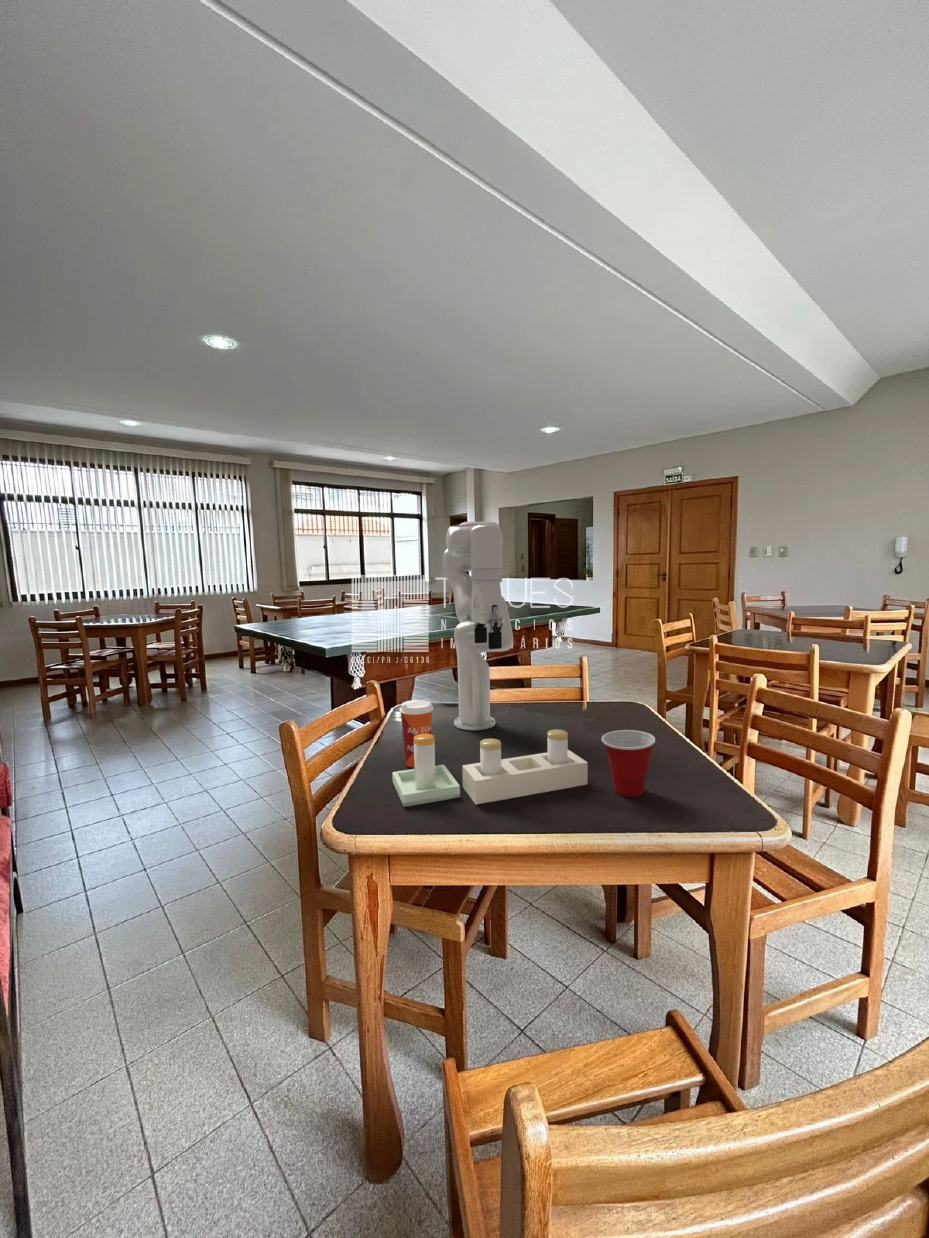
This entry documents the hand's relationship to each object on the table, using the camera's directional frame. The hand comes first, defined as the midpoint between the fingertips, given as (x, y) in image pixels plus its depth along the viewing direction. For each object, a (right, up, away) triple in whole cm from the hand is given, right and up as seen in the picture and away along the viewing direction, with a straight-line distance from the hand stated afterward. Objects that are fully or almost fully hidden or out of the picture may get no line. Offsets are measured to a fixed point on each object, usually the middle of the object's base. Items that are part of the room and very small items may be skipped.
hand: (487, 645), depth 124 cm
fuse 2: (+15, -30, -12) cm, 35 cm away
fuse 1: (0, -30, -17) cm, 35 cm away
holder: (+8, -30, -14) cm, 34 cm away
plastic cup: (+29, -30, -18) cm, 45 cm away
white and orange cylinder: (-14, -30, -15) cm, 36 cm away
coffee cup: (-17, -29, -1) cm, 34 cm away
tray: (-14, -31, -15) cm, 37 cm away
